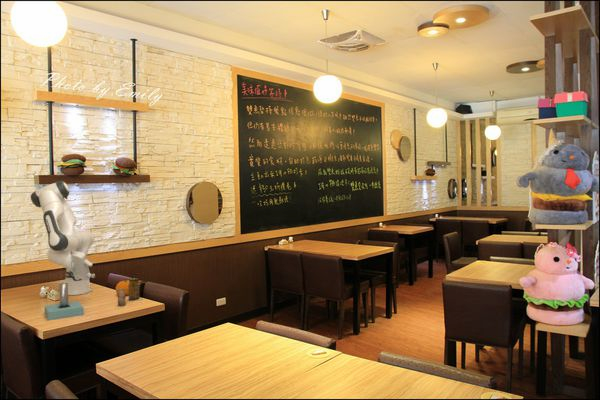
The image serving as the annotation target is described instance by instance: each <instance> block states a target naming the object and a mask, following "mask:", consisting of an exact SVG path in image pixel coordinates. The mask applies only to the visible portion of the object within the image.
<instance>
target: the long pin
mask: <svg viewBox="0 0 600 400" xmlns="http://www.w3.org/2000/svg"><path fill="white" fill-rule="evenodd" d="M58 287H59V288H58V292H59V294H58V295H59V303H58V304H60V308H66V307H68V302H69V295H68V283H63V282H61V283H59V284H58Z"/></svg>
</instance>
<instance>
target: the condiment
mask: <svg viewBox="0 0 600 400" xmlns="http://www.w3.org/2000/svg"><path fill="white" fill-rule="evenodd" d="M139 279H140V278H138V277H137V278H135V277H133V278H129V279H128V280H129V295H128V297H125V300H128V301H129V302H132V301H135V302H136V301H139V300H140V301H141V300H143V298H141V297H140V282H139Z"/></svg>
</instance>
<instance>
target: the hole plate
mask: <svg viewBox="0 0 600 400" xmlns="http://www.w3.org/2000/svg"><path fill="white" fill-rule="evenodd" d="M84 314H85V313H84V306H83V305H82V304H81V303H80V301H78V300H77V301H70V302H69V301H68V307H66V308H60V303H55V304H49V305H47V304H46V305H44V315H45V316H46V319H47V320H48V321H52V320H60V319H64V318H65V319H66V318H73V317H79V316H84Z"/></svg>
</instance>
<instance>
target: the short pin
mask: <svg viewBox="0 0 600 400" xmlns="http://www.w3.org/2000/svg"><path fill="white" fill-rule="evenodd" d="M125 306H126V296H125V289H118V294H117V307H125Z"/></svg>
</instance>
